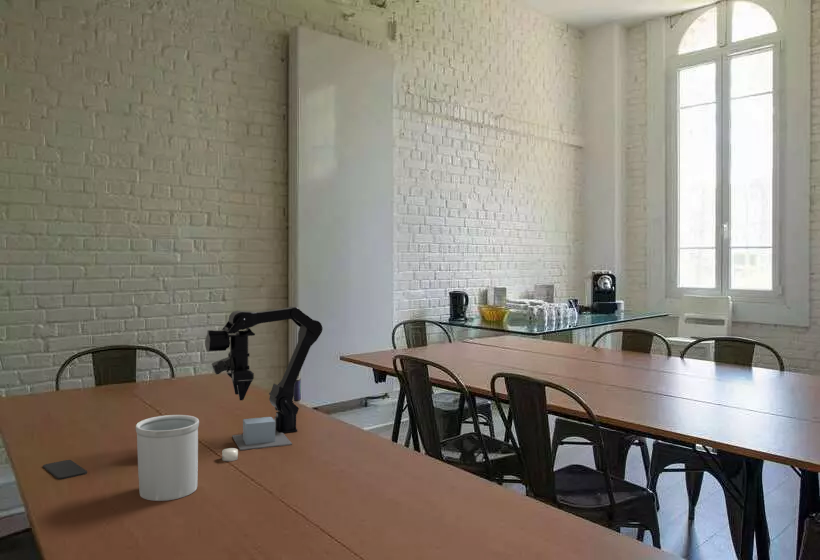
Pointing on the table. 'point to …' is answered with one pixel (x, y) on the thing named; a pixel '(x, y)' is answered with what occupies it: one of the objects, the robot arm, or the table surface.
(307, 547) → the table surface
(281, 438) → the mat
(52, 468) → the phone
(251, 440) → the grey rectangular block
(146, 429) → the utensil holder
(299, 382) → the flask
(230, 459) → the pebble
